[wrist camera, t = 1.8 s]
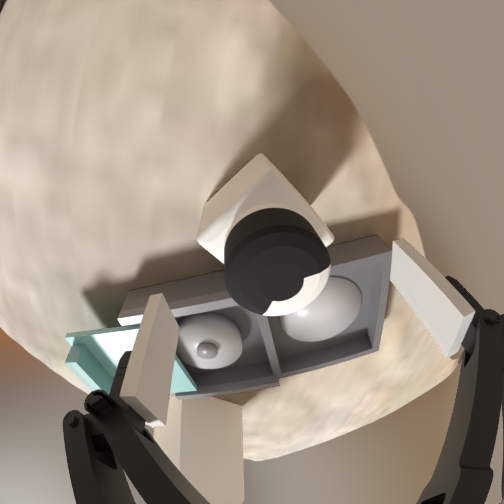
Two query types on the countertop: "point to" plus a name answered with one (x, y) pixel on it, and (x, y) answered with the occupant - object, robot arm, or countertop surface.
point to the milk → (206, 446)
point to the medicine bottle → (266, 241)
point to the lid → (112, 358)
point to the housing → (274, 324)
